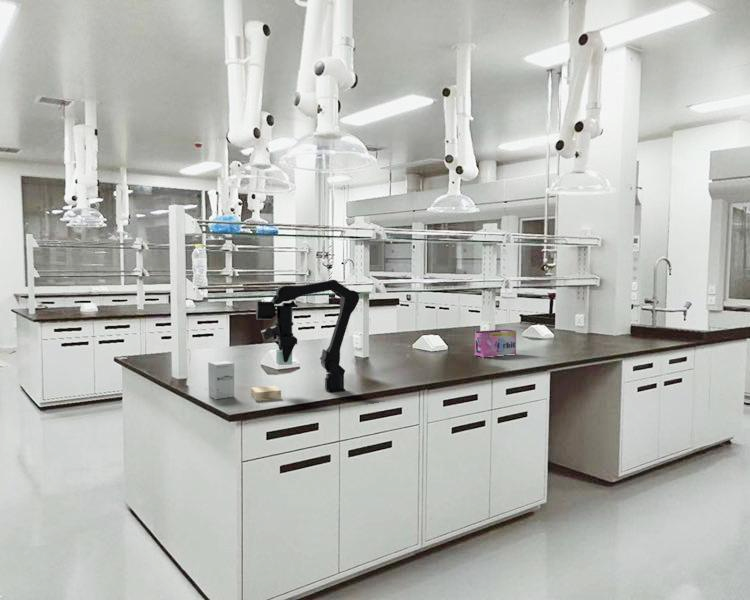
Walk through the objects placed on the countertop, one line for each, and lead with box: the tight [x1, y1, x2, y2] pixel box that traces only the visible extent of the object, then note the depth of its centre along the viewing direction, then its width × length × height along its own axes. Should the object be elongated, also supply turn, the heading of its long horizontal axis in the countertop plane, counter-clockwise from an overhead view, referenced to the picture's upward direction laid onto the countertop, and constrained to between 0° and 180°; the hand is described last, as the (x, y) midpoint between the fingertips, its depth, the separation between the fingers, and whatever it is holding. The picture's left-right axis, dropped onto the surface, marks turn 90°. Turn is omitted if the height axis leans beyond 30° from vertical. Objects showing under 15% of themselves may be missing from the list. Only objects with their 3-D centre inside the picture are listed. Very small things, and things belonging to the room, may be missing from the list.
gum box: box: [474, 329, 517, 357], centre depth 298 cm, size 24×8×14 cm, turn 118°
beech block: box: [250, 385, 282, 402], centre depth 201 cm, size 9×9×4 cm
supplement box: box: [207, 360, 235, 400], centre depth 202 cm, size 7×7×13 cm
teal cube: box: [275, 349, 293, 366], centre depth 206 cm, size 5×5×5 cm
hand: (284, 361), depth 207 cm, fingers closed on teal cube, 5 cm apart
